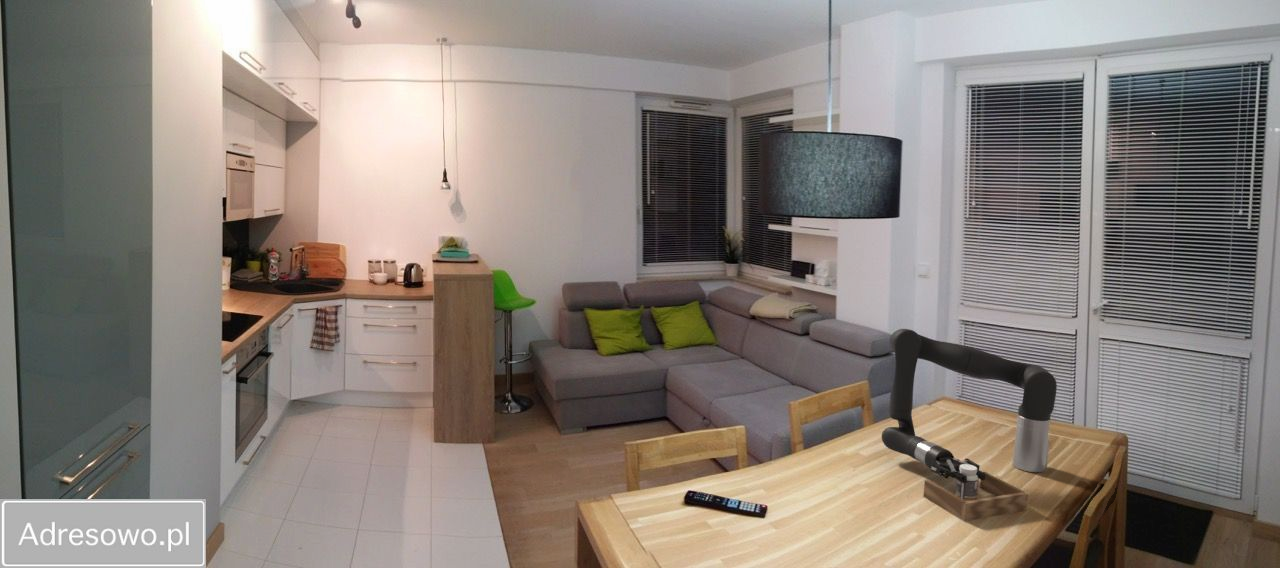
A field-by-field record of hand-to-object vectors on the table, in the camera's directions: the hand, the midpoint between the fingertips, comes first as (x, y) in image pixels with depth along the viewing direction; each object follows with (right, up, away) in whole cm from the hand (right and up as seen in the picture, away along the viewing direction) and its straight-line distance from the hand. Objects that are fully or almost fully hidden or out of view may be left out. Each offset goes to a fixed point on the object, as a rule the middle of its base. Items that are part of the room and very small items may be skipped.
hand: (975, 478), depth 209 cm
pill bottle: (-1, -7, +4) cm, 8 cm away
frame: (0, -7, +2) cm, 7 cm away
